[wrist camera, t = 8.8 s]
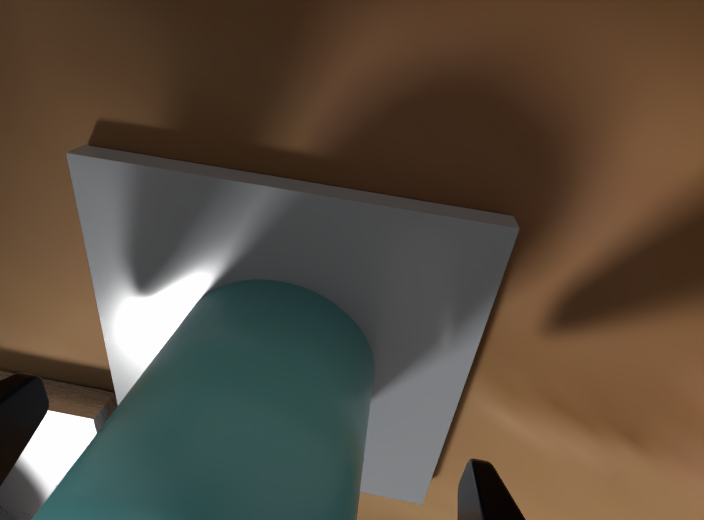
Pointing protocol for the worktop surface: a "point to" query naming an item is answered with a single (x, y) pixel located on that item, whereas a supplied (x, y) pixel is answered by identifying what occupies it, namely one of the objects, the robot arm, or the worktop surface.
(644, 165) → the worktop surface
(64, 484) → the teal cylinder
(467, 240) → the coaster
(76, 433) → the grey square plate
